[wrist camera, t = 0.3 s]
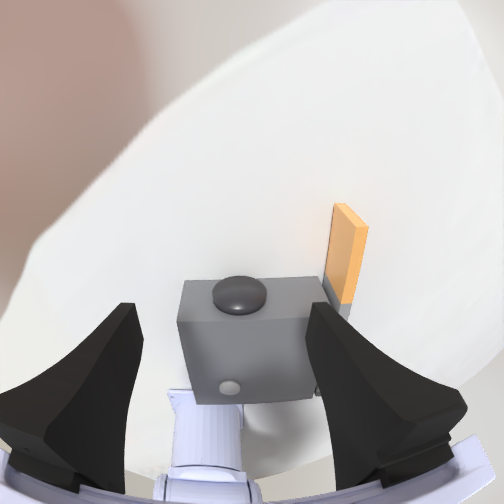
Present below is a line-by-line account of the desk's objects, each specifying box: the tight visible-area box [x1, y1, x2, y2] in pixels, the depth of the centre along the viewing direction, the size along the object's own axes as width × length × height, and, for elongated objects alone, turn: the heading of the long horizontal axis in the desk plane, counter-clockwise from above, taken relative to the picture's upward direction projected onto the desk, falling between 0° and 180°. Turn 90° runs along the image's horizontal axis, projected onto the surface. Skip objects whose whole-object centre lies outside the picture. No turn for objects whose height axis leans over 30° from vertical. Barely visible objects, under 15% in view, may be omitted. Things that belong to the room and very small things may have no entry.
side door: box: [314, 203, 369, 396], centre depth 21 cm, size 16×1×4 cm, turn 0°
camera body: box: [176, 276, 330, 405], centre depth 22 cm, size 11×10×5 cm
